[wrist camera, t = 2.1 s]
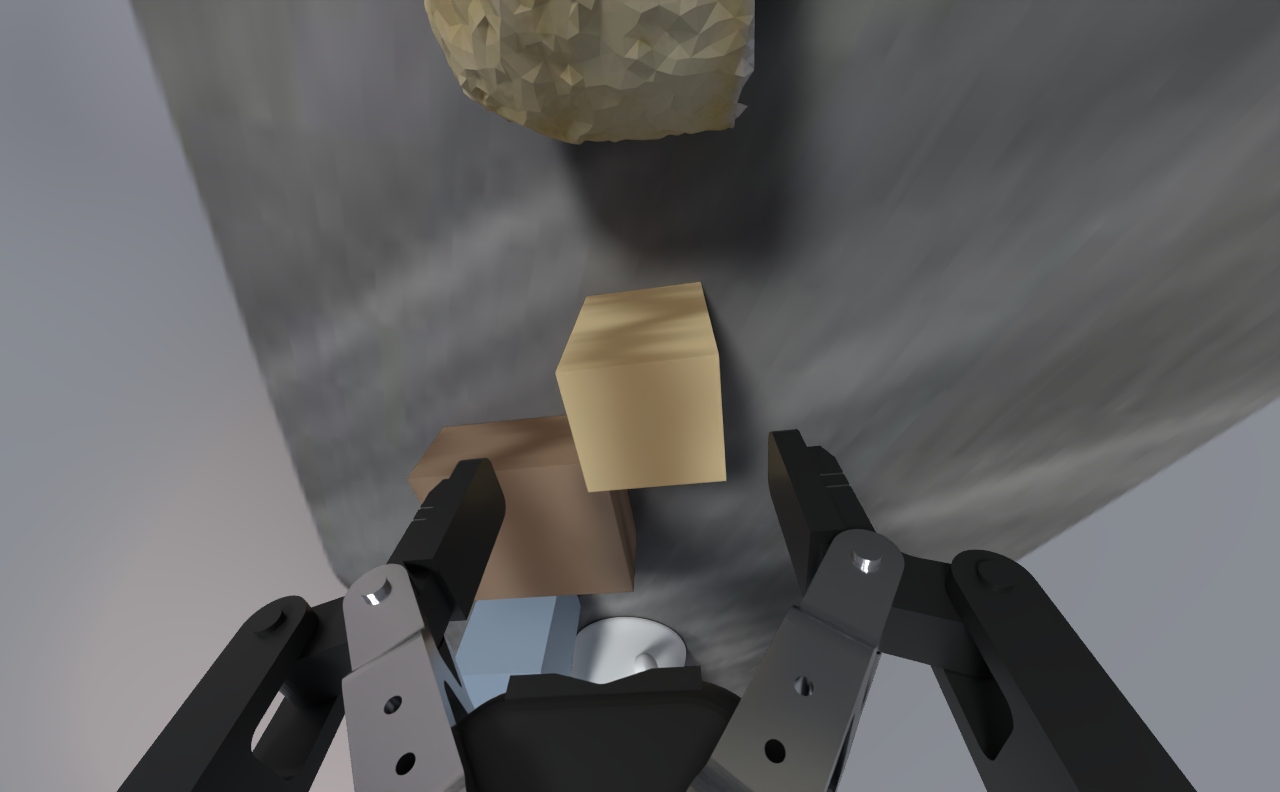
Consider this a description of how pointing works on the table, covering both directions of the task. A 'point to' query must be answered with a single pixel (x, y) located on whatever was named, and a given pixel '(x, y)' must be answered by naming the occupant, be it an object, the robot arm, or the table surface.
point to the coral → (601, 63)
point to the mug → (624, 649)
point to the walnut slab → (540, 510)
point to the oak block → (644, 389)
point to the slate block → (516, 642)
